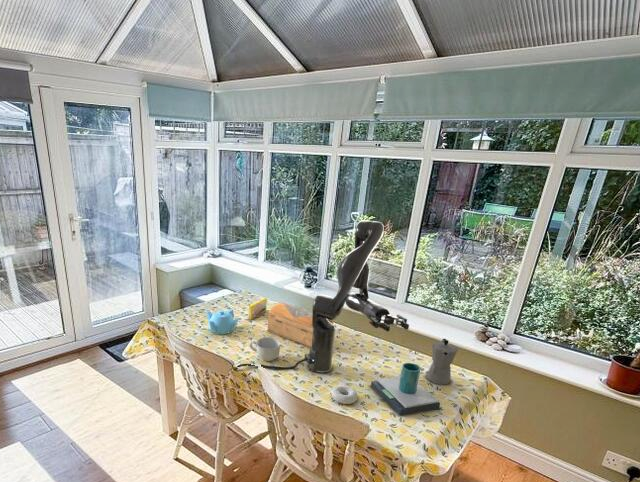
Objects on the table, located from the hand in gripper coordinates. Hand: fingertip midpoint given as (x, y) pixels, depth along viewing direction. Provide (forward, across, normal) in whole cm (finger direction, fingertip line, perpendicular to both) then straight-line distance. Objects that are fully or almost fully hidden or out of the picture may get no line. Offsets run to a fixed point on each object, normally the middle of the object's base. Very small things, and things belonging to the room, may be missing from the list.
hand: (398, 328), depth 160 cm
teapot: (-67, -57, +25) cm, 91 cm away
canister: (+11, 0, +21) cm, 24 cm away
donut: (+6, -24, +25) cm, 35 cm away
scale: (+11, -1, +24) cm, 27 cm away
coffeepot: (+2, +22, +24) cm, 33 cm away
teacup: (-33, -44, +25) cm, 60 cm away
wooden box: (-51, -19, +24) cm, 60 cm away
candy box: (-82, -33, +24) cm, 92 cm away
